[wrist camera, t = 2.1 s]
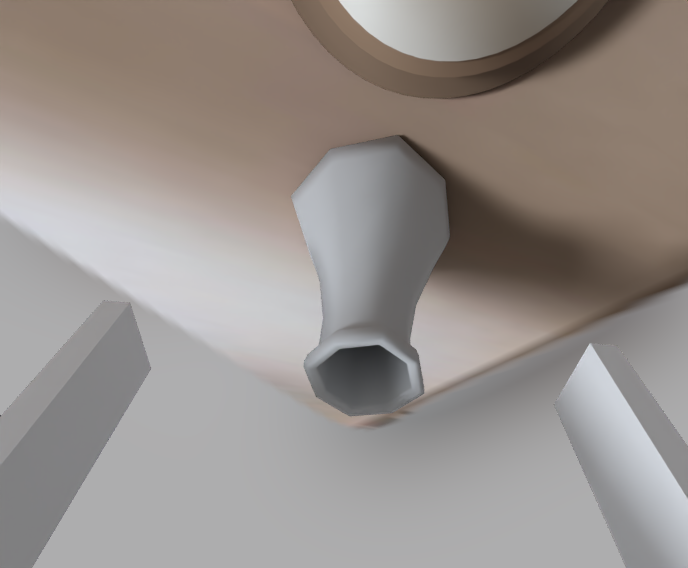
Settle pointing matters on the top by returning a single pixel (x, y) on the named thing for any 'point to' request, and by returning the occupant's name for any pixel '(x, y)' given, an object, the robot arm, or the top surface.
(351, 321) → the flask
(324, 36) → the pedestal
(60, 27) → the top surface
